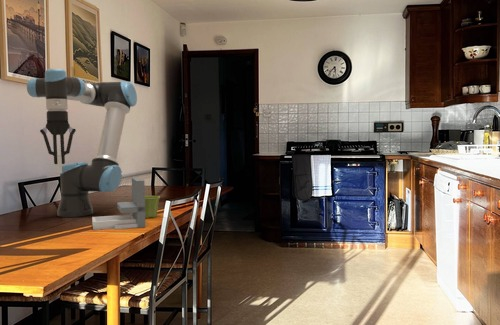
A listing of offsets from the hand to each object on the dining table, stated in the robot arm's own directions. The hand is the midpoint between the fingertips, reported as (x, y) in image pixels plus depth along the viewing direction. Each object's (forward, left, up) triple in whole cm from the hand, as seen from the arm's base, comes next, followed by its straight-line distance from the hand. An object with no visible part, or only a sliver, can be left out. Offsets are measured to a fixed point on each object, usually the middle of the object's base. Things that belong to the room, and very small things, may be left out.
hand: (59, 172), depth 190 cm
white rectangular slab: (+3, +19, -21) cm, 29 cm away
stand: (+2, +25, -21) cm, 33 cm away
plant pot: (-13, +35, -22) cm, 43 cm away
